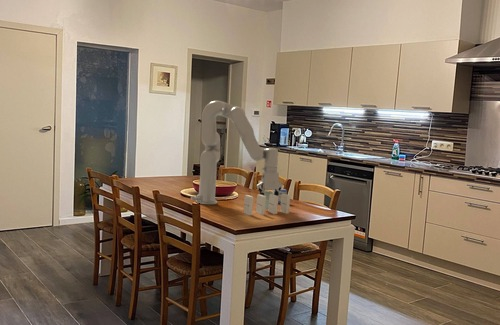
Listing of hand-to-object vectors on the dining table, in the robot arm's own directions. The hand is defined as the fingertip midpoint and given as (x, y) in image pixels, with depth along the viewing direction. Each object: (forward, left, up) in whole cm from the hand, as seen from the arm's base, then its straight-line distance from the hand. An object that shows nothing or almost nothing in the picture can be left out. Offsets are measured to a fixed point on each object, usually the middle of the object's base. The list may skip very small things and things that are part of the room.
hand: (268, 199), depth 282 cm
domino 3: (0, 0, -6) cm, 6 cm away
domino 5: (+4, -11, -6) cm, 13 cm away
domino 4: (-4, -11, -6) cm, 13 cm away
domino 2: (-12, -11, -6) cm, 17 cm away
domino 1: (-20, -11, -6) cm, 23 cm away
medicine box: (+17, +14, -6) cm, 23 cm away
